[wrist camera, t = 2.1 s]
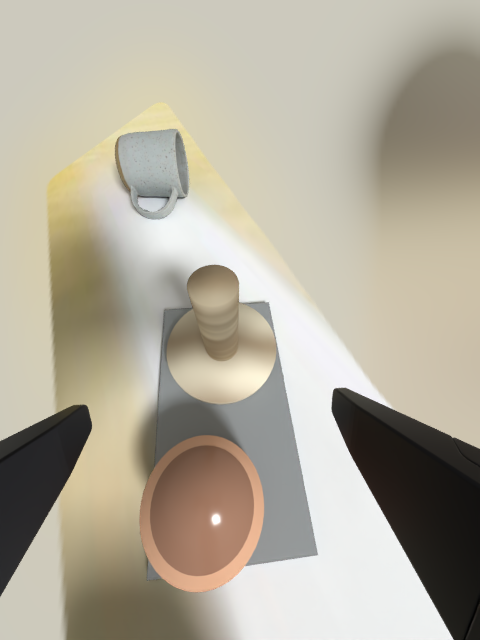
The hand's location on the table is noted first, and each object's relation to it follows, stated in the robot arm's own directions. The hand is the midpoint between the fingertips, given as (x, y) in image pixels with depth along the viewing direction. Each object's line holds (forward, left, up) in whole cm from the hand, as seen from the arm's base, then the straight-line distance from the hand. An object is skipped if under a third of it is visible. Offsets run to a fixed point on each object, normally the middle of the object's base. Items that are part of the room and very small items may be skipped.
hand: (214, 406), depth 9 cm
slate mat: (+2, 0, -12) cm, 13 cm away
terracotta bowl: (-4, +1, -12) cm, 13 cm away
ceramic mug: (+32, +7, -13) cm, 36 cm away
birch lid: (+7, 0, -12) cm, 14 cm away
